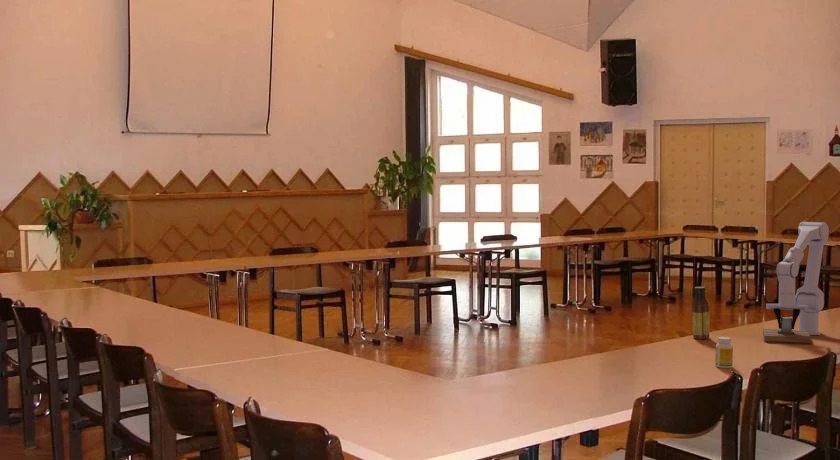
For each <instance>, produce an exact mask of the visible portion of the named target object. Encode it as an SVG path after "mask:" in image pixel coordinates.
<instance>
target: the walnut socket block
mask: <svg viewBox="0 0 840 460" xmlns="http://www.w3.org/2000/svg"><path fill="white" fill-rule="evenodd" d="M762 330H763V331H762V333H763V334H762V335H763V342H764V343H775V344H776V343H777V344H798V345H800V344H801V345H811V341H812V340H811V339H812V338H811V335H809V333H808V331H807V330H797V329H792V334H781V329H779V328H778V329H777V328H763V329H762Z"/></svg>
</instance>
